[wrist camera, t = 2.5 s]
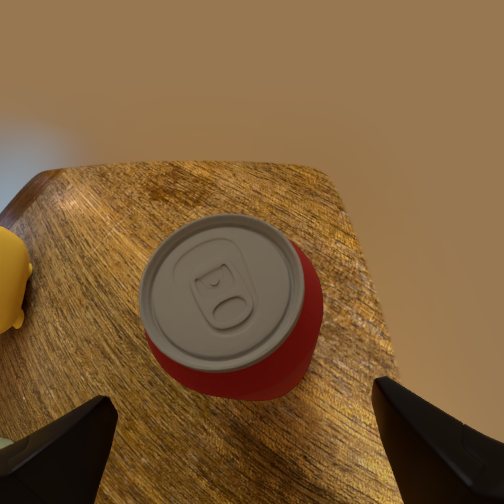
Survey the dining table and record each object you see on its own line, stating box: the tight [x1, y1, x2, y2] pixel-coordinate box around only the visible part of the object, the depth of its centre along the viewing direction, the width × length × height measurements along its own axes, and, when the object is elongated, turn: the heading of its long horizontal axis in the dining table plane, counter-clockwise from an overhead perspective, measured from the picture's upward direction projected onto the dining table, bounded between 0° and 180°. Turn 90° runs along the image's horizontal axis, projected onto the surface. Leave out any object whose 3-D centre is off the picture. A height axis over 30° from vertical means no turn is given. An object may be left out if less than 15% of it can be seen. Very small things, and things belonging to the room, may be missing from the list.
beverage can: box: [138, 213, 323, 401], centre depth 14 cm, size 7×7×12 cm
